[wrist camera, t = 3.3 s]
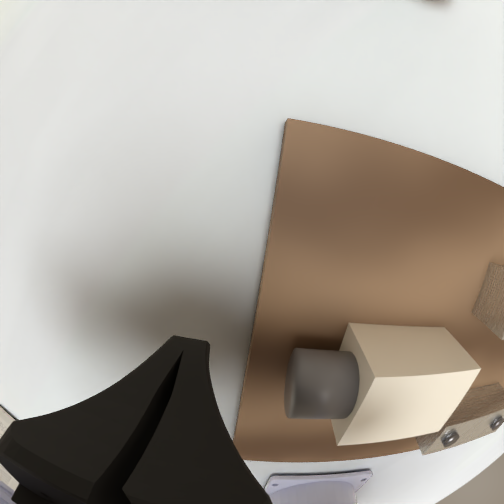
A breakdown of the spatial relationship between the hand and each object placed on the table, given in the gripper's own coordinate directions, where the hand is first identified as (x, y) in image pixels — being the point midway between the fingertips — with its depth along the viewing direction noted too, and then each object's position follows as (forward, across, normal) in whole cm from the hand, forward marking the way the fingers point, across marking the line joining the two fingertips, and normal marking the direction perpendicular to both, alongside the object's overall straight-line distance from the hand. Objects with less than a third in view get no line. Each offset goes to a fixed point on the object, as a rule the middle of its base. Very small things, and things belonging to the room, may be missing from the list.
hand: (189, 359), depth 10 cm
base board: (+2, -17, 0) cm, 17 cm away
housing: (+1, -16, 0) cm, 16 cm away
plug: (+1, -8, 0) cm, 8 cm away
